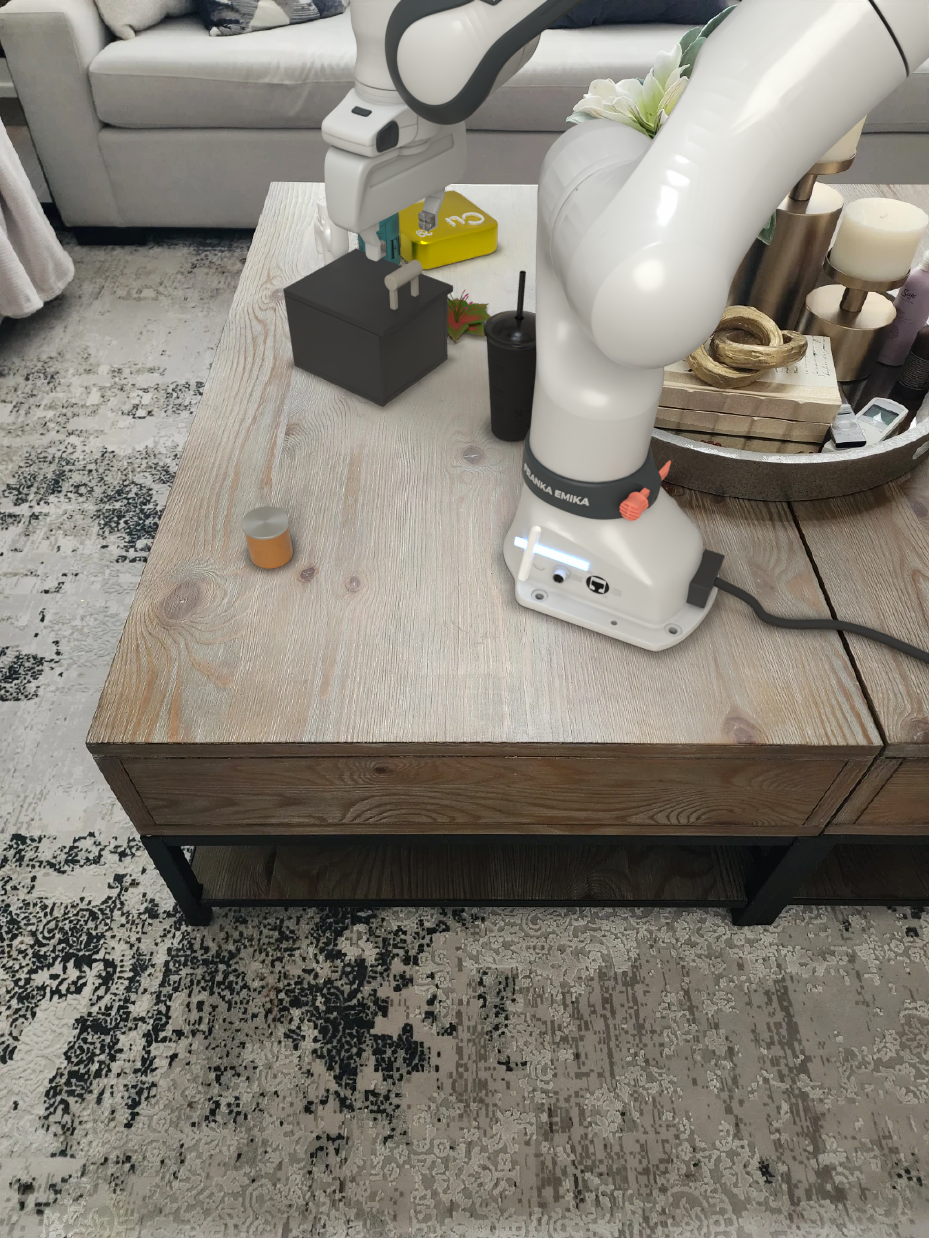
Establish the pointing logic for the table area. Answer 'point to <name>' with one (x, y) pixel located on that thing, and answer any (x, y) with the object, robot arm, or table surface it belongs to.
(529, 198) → the table surface
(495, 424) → the drinking cup
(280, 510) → the coffee pod
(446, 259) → the element tile
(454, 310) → the lily flower
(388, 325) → the lid
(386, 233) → the beverage bottle
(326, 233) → the figurine
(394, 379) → the black tray bin
